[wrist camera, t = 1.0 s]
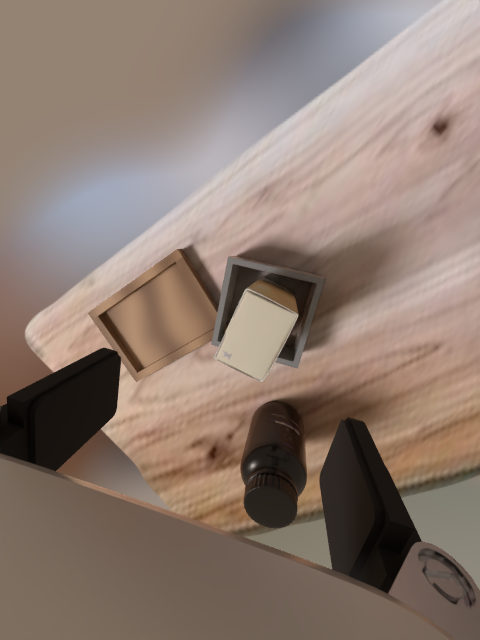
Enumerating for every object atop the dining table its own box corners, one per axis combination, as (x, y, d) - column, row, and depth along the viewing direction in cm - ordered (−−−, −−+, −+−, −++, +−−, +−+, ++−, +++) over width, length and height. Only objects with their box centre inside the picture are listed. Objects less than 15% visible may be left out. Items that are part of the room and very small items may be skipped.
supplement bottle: (299, 397, 32) (305, 477, 21) (306, 443, 34) (315, 540, 22) (247, 401, 34) (226, 477, 22) (256, 445, 35) (240, 537, 24)
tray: (182, 249, 30) (177, 249, 29) (230, 327, 32) (228, 330, 30) (95, 310, 35) (87, 313, 33) (141, 377, 36) (136, 381, 35)
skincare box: (271, 337, 31) (261, 388, 19) (239, 321, 31) (210, 362, 20) (296, 289, 29) (302, 314, 17) (262, 273, 29) (245, 287, 18)
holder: (320, 275, 28) (325, 278, 24) (296, 354, 31) (297, 368, 27) (235, 256, 29) (228, 256, 25) (220, 333, 32) (211, 344, 28)
